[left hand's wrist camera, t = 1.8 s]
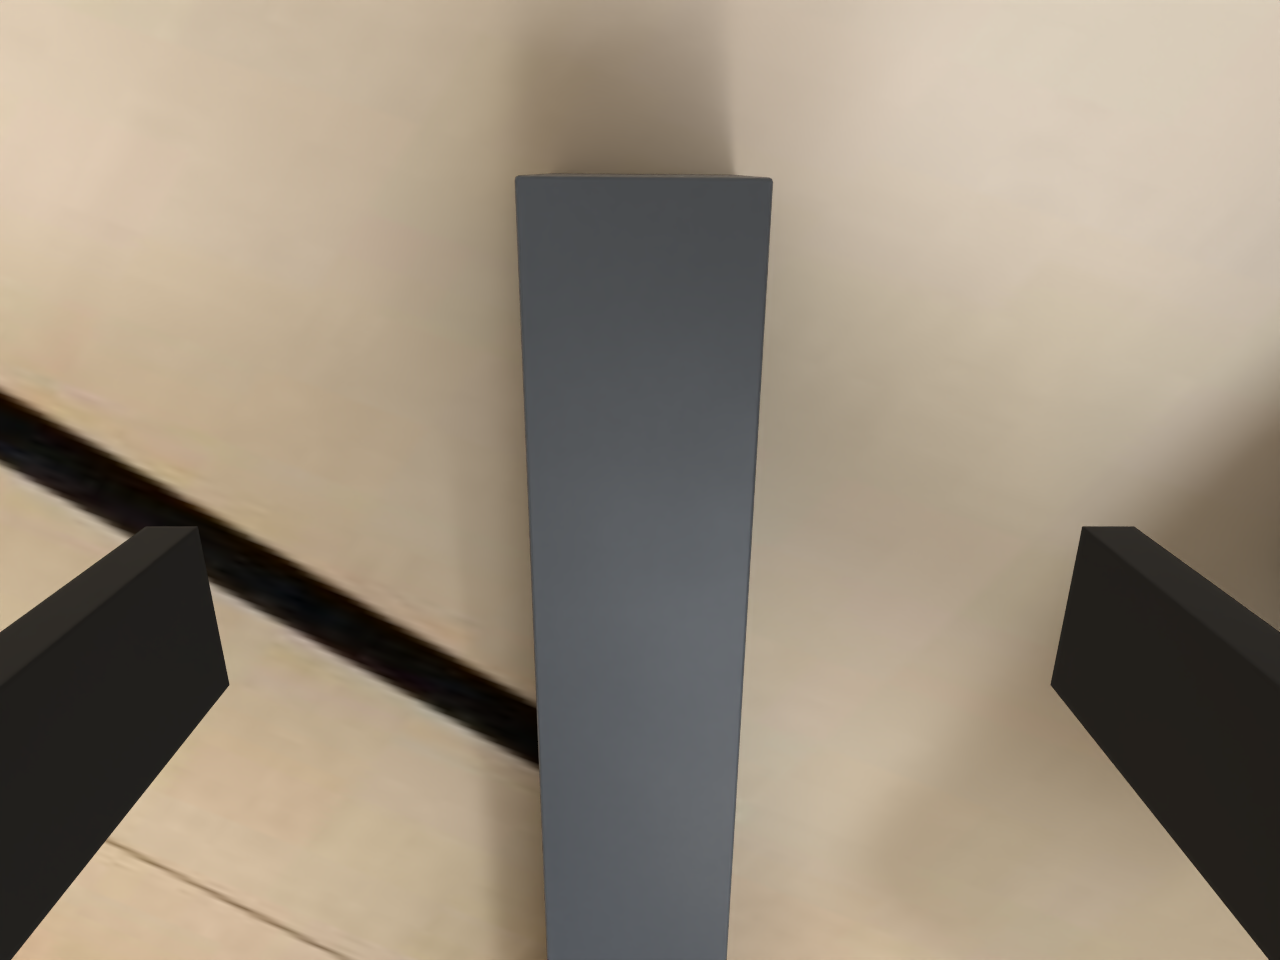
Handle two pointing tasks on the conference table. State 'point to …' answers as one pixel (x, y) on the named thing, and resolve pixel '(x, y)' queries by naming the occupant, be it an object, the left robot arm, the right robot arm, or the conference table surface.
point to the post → (640, 543)
